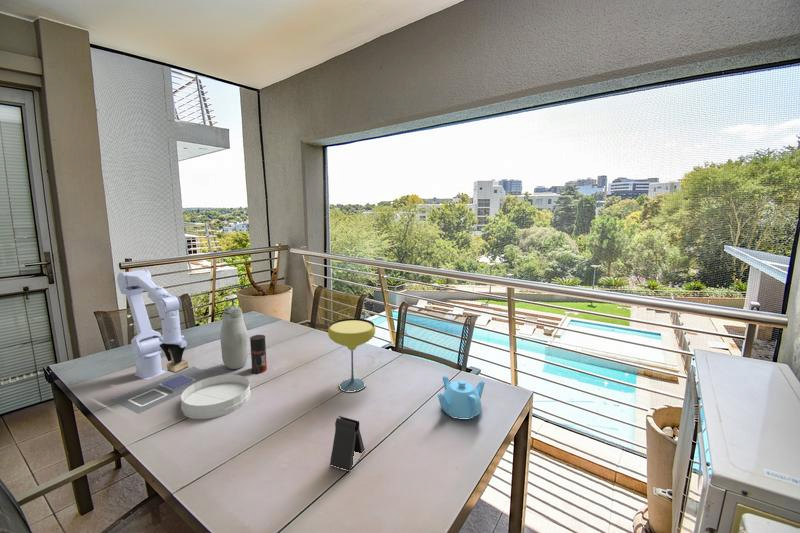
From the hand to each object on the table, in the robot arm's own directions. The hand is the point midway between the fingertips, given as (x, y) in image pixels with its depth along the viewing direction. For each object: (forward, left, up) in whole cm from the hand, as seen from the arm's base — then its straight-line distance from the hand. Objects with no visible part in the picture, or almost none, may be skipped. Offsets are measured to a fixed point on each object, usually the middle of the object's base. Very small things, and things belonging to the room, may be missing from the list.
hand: (174, 361), depth 132 cm
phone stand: (+82, -1, -11) cm, 83 cm away
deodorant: (+17, +25, -11) cm, 32 cm away
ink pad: (0, 0, -10) cm, 10 cm away
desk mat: (-1, -2, -10) cm, 11 cm away
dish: (+23, +1, -11) cm, 25 cm away
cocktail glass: (+60, +33, -11) cm, 69 cm away
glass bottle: (+6, +22, -11) cm, 25 cm away
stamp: (0, +1, -3) cm, 4 cm away
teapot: (+103, +37, -11) cm, 110 cm away
